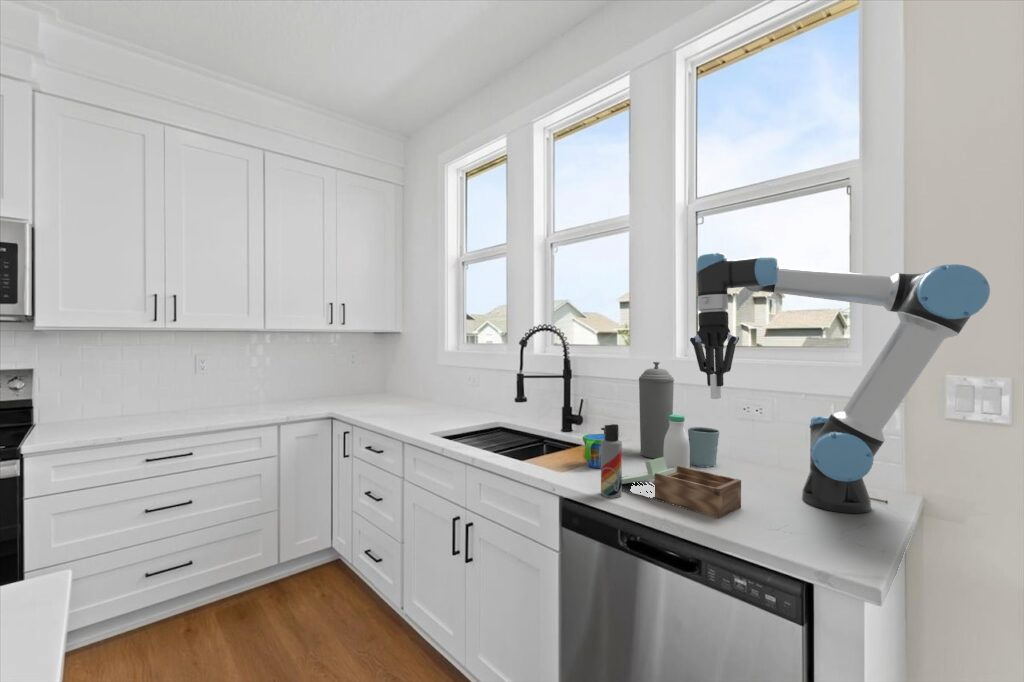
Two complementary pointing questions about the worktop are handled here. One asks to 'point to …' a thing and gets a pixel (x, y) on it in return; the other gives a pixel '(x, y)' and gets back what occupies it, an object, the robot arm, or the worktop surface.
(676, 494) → the walnut box
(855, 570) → the worktop surface
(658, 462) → the lid
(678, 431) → the milk bottle
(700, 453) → the teal cup
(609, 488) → the lotion bottle
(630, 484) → the mat
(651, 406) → the canister
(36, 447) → the worktop surface
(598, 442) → the snack cup
